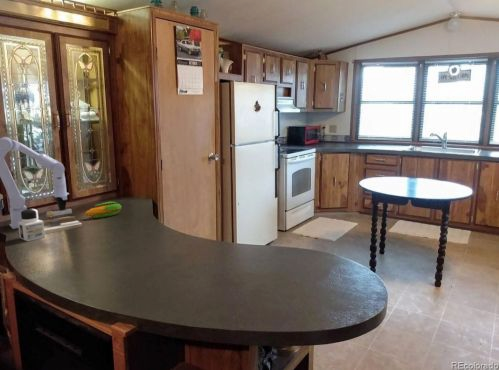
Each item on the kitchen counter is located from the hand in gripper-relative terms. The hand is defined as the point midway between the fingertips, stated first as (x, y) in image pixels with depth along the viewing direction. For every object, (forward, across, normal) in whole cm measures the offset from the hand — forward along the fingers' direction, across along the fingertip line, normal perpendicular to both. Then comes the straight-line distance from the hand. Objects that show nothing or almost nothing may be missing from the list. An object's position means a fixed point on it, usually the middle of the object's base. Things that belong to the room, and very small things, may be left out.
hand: (62, 211), depth 201 cm
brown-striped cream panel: (+5, -10, +5) cm, 12 cm away
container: (+5, -21, +19) cm, 29 cm away
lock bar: (0, -5, +3) cm, 6 cm away
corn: (+5, -7, -19) cm, 21 cm away
